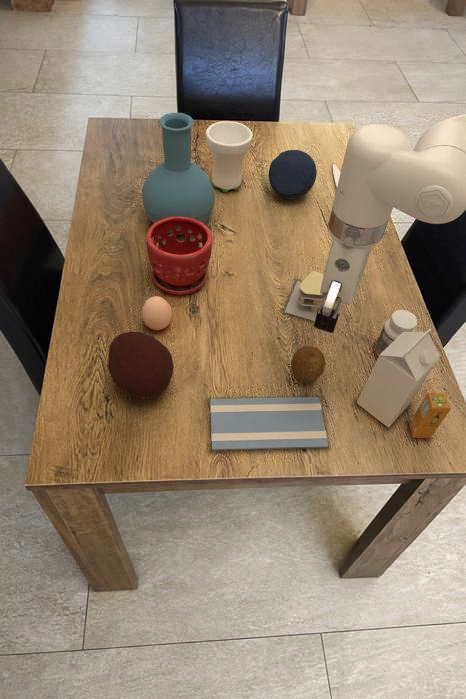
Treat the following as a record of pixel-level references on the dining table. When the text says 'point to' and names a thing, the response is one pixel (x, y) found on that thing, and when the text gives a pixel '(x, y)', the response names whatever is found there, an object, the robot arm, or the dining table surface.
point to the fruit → (308, 363)
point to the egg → (156, 313)
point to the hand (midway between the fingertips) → (332, 308)
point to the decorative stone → (292, 174)
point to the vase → (177, 177)
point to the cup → (228, 152)
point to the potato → (140, 364)
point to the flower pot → (179, 254)
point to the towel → (267, 423)
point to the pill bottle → (395, 329)
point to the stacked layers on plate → (306, 297)
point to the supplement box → (429, 415)
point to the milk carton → (398, 376)
